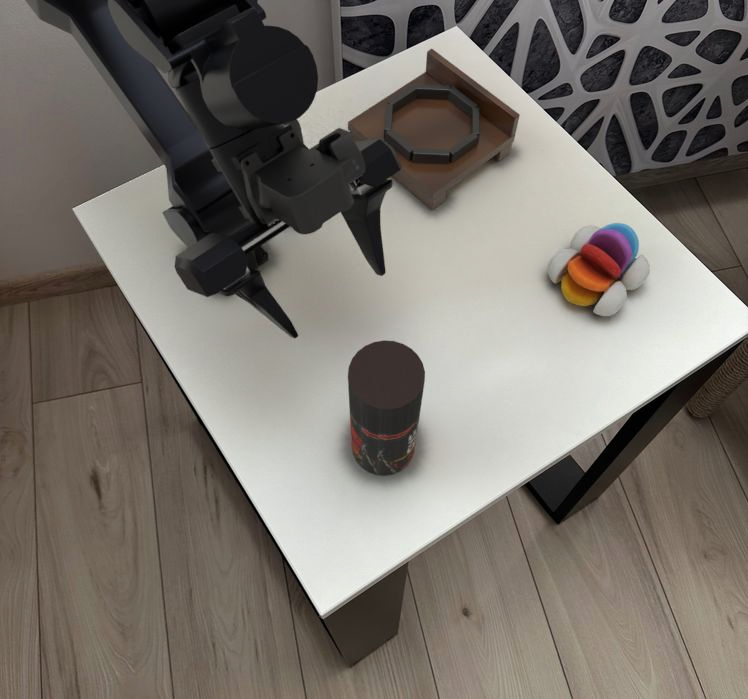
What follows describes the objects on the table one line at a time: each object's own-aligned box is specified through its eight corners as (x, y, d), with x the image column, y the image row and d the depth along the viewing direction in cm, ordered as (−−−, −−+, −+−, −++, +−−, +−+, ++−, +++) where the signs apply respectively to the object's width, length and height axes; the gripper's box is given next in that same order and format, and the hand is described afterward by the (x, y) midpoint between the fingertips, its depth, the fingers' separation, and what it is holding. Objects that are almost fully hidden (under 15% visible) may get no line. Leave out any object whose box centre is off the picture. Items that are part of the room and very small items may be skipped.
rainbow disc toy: (533, 285, 81) (547, 244, 74) (587, 231, 84) (605, 187, 78) (600, 333, 78) (620, 295, 72) (652, 275, 81) (676, 233, 75)
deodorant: (408, 481, 71) (417, 416, 57) (345, 468, 71) (340, 401, 58) (419, 422, 73) (431, 347, 60) (358, 411, 74) (356, 334, 61)
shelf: (348, 140, 90) (347, 101, 85) (428, 88, 94) (431, 48, 89) (430, 211, 85) (434, 175, 80) (511, 152, 90) (520, 114, 84)
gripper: (163, 195, 47) (287, 394, 53) (393, 56, 53) (479, 250, 59) (125, 194, 56) (234, 363, 63) (323, 77, 62) (404, 242, 69)
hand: (339, 304), depth 63 cm, fingers open, 9 cm apart
